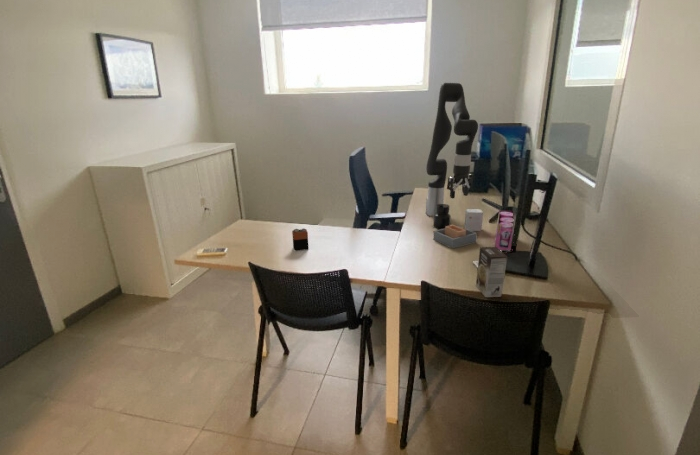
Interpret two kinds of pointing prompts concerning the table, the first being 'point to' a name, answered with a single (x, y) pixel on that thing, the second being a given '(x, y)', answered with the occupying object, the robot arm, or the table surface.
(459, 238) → the crate
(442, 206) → the ink bottle
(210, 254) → the table surface
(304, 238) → the battery
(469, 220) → the small box
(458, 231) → the box
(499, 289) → the coffee box
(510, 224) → the gum box
